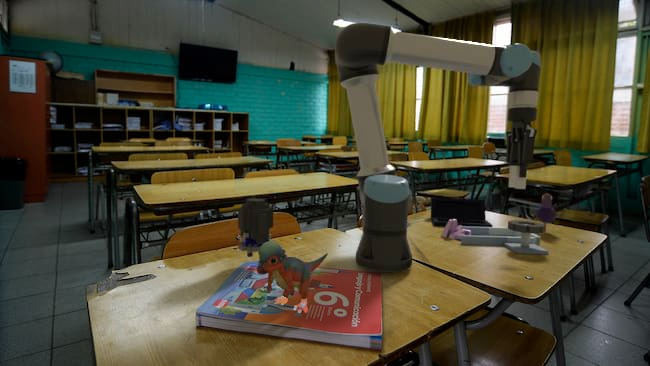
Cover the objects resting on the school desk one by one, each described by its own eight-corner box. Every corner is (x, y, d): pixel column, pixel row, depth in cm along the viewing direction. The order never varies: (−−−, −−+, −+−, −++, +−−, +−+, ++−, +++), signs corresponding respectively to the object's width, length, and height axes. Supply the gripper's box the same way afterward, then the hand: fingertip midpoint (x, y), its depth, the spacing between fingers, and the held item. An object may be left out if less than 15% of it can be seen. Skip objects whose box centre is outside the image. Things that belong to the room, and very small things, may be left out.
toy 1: (264, 250, 107) (265, 197, 106) (278, 257, 100) (278, 201, 98) (235, 254, 102) (235, 198, 101) (247, 262, 95) (247, 203, 94)
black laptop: (434, 228, 144) (435, 202, 143) (429, 220, 160) (430, 196, 159) (492, 231, 140) (494, 204, 139) (481, 223, 156) (483, 199, 155)
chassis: (473, 252, 110) (474, 226, 109) (447, 232, 135) (448, 211, 134) (557, 254, 110) (559, 228, 109) (515, 234, 134) (517, 213, 134)
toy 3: (564, 214, 139) (547, 205, 144) (563, 198, 131) (545, 189, 136) (544, 236, 139) (528, 226, 144) (542, 221, 131) (524, 211, 136)
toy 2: (258, 327, 68) (257, 247, 66) (244, 301, 78) (243, 230, 75) (349, 307, 76) (351, 235, 74) (326, 286, 86) (328, 221, 83)
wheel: (517, 233, 109) (518, 226, 109) (503, 226, 119) (503, 219, 118) (551, 234, 109) (551, 227, 109) (533, 227, 118) (534, 220, 118)
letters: (473, 239, 127) (474, 221, 126) (460, 241, 123) (461, 223, 122) (452, 234, 133) (453, 217, 133) (440, 236, 130) (441, 219, 129)
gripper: (551, 104, 102) (544, 191, 104) (521, 110, 118) (516, 185, 121) (523, 104, 102) (517, 190, 104) (497, 110, 119) (492, 184, 121)
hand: (516, 187), depth 113 cm, fingers open, 3 cm apart
